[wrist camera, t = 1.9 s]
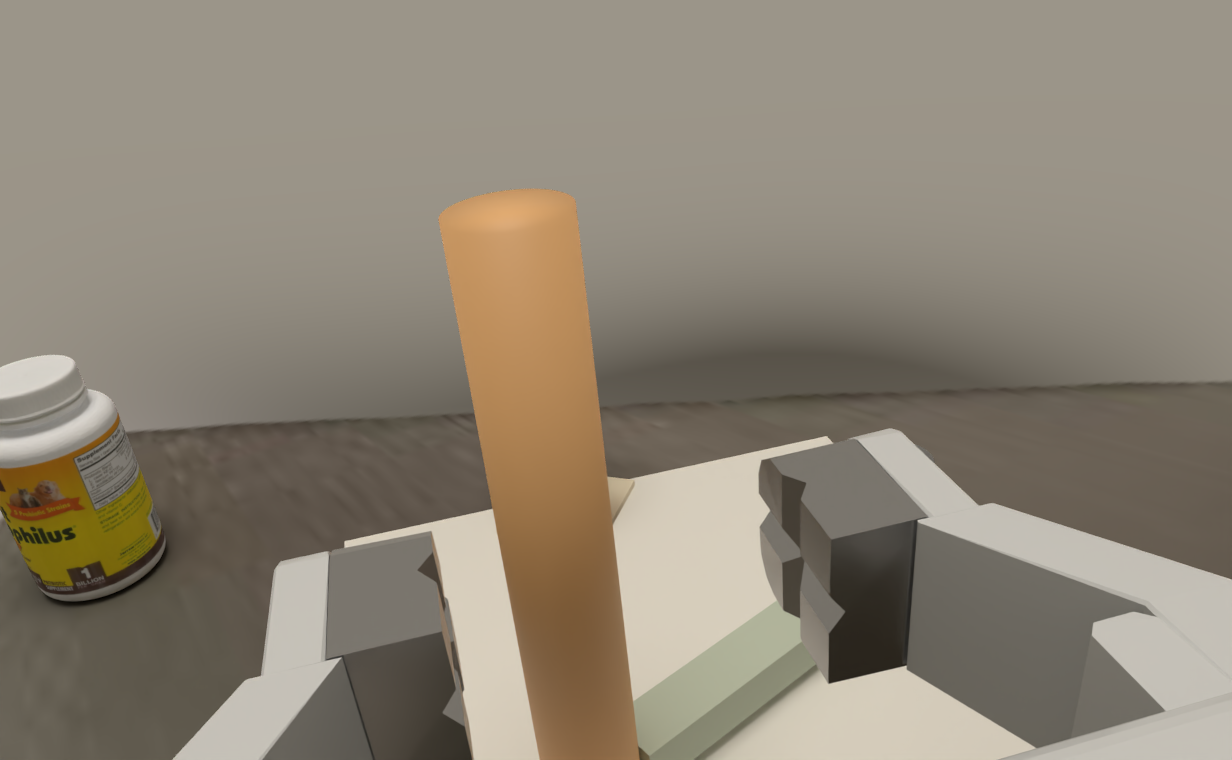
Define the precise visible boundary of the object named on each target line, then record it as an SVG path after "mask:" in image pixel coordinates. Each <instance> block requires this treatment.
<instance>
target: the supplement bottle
mask: <svg viewBox="0 0 1232 760" xmlns="http://www.w3.org/2000/svg"><path fill="white" fill-rule="evenodd" d="M0 510H1V512H2V514H3V516H4V518H5V520H6V522H7V525H8V527H9V529H10V531H11V533H12V535H13V537H14V539H15V541H16V543H17V545H18V547H19V549H20V551H21V553H22V555H23V558H24V560H25V562H26V563H27V566H28V568H29V570H30V572H31V574H32V576H33V578H34V580H35V582H36V584H37V585H38V587H39V588H40V590H41V591H42V592H43V593H45V594H46V595H48V596H49V597H51V598H54V599H57V600H62V601H85V600H91V599H96V598H100V597H103V596H107V595H110V594H113V593H115V592H117V591H120V590H122V589H124V588H126V587H128V586H129V585H131V584H133V583H134V582H136V581H137V580H139V579H140V578H142V577H143V576H144V575H146V574H147V573H148V572H149V571H150V570H151V569H152V568H153V567H154V566H155V565H156V564H157V562H158V561H159V559H160V558H161V556H162V554H163V552H164V549H165V543H166V539H165V533H164V531H163V528H162V525H161V522H160V520H159V517H158V515H157V512H156V509H155V507H154V504H153V501H152V499H151V497H150V494H149V491H148V489H147V486H146V484H145V481H144V478H143V476H142V473H141V471H140V468H139V466H138V463H137V460H136V458H135V455H134V453H133V450H132V448H131V445H130V443H129V440H128V437H127V435H126V432H125V430H124V427H123V425H122V422H121V420H120V417H119V414H118V412H117V409H116V408H115V405H114V403H113V402H112V400H111V399H110V398H109V397H108V396H106V395H104V394H103V393H101V392H98V391H95V390H90V389H87V388H86V386H85V382H84V380H83V379H82V377H81V375H80V373H79V371H78V368H77V366H76V363H75V362H74V360H72V359H71V358H69V357H66V356H61V355H45V356H38V357H32V358H28V359H23V360H20V361H17V362H13V363H10V364H8V365H5V366H2V367H0Z"/></svg>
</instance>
